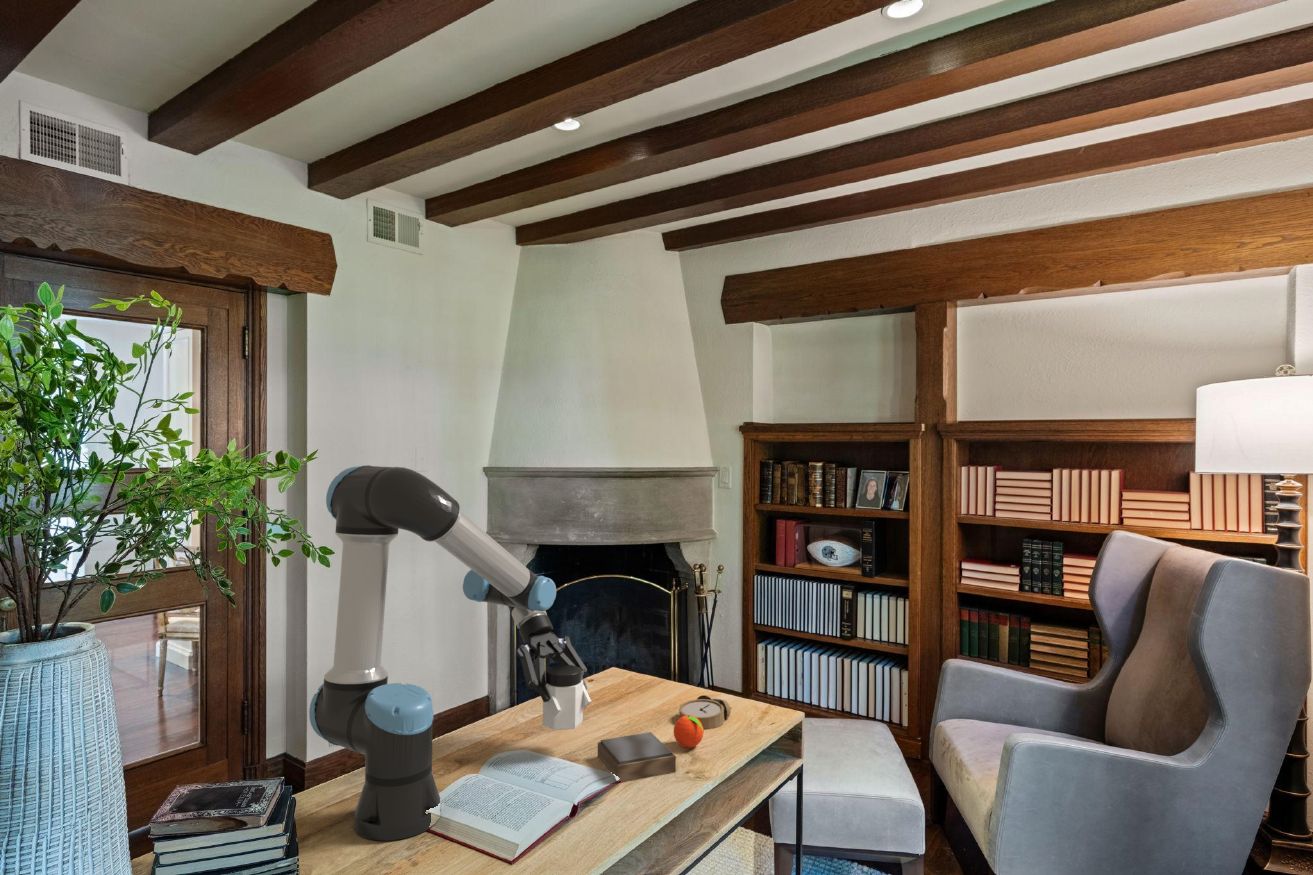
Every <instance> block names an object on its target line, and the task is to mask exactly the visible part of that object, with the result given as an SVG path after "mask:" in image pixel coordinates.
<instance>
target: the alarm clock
mask: <svg viewBox="0 0 1313 875" xmlns="http://www.w3.org/2000/svg"><path fill="white" fill-rule="evenodd" d="M678 708H679V709H678V710H679V716H678V717H676V718H675V719H676V720H677V721H678V719H679V718H681V717H683V716H686V715H691V716H694V717H696V718H697V719H698V720H699V721H700V722H701V724H702V726H703V730H713V729H717V728H718V727H720V726H722V725H723V724H724V722H725V720H727V719H729V717H730V716H731V712H732V711H731V710H732V707H731V706H730V704H729V702H728V701H727V700H725V699H722V698H721V699H720V698H712V697H711V696H709V695H707V694H702V695H699V696H698V697H697V698H696V699H692V700H688V701H685V702H684V703H682V704H681V705H679V707H678Z"/></svg>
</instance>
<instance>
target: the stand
mask: <svg viewBox="0 0 1313 875" xmlns="http://www.w3.org/2000/svg"><path fill="white" fill-rule="evenodd" d="M598 758H599V759H600V760H601V761H600V760H599V759H598ZM597 759H598V760H599V761H600V763H601V762H602V763H603V764H604V765H605V766H604V765H603V764H602V763H601V764H602V765H603V766H604V768H605V769H606V768H607V769H608V770H609V771H610V772H612V774H615V775H616V776H618V777H619V778H620V779H621V781H622V782H621V783H624V782H631V781H635V780H640V779H646V778H651V777H652V778H653V777H657V776H663V775H667V774H672V773H676V771H677V768H676V766H677V765H676V764H677V763H676V762H677V760H676V759H677V756H676V755H675V754H674V753H673V751H672V750H670V748H668V747H667V746H666V744H664V743H663V742H662V741H661V740H660V739H658V737H656V735H654V734H653V732H651V731H650V732H643V733H637V734H631V735H625V736H618V737H613V738H607V739H600V741H599V742H597ZM607 769H606V770H607ZM608 770H607V771H608ZM609 771H608V772H609ZM610 772H609V773H610Z"/></svg>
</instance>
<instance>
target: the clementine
mask: <svg viewBox="0 0 1313 875" xmlns="http://www.w3.org/2000/svg"><path fill="white" fill-rule="evenodd" d="M704 730H705V729H703V726H702V724H701V722H700V721H699V720H698V719H697V718H696V717H694V716H691V715H686V716H683V717H681V718H679V719H678V720H677V721H675V724H674V725H673V737H674V738H675V740H676V743H677V744H679V745H680V746H681V747H683V748H688V749H689V748H690V749H691V748H694V747H696V746H698V745H699V744H700V743H701V742H702V739H703V737H704Z"/></svg>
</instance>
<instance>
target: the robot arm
mask: <svg viewBox="0 0 1313 875" xmlns="http://www.w3.org/2000/svg"><path fill="white" fill-rule="evenodd" d="M325 501H326V502H325V504H326V508H327V511H328V513H329V514H331V517H332V518H334V520H335V521H336V522H335V532H334V533H335V536H337V537H338V539H340V541H341V542H342V552H341V562H340V563H341V565H340V575H339V576H340V577H339V578H340V579H339V589H338V590H339V591H338V601H337V602H338V604H337V605H338V606H337V616H336V618H337V619H336V629H335V642H334V643H335V644H334V655H333V666H332V667H331V668H330V670H328V671H327V672H326V673H325V674H324V676H323V683H322V684H321V685H320V686H318V688H317V690H318V691H317V692H316V693H314V694H313V696H312V698H311V701H310V704H309V710H308V718H309V721H310V726H311V727H312V729H313V731H314V732H315V734H317V736H318V737H320V738H322V739H324V740H325V741H326V742H328V743H329V744H331V745H334V746H337V747H339V746H340V747H341V748H342V747H343V748H344V749H347V750H350V751H353V752H355V753H357V754H361V755H363V756H364V759H365V761H364V762H365V763H364V766H365V767H364V771H365V773H364V784H363V787H362V790H361V793H360V795H359V798H358V801H357V805H356V806H355V807H356V808H355V810H354V817H353V827H354V831H355V832H356V834H358V835H359V836H360V837H363V838H365V839H368V840H372V841H397V840H401V839H402V840H404V839H407V838H410V837H414V836H417V835H419V834H423V833H424V832H426V831H428V830H430V828H429V826H430V823H431V813H428V814H426V813H425V812H426V810H429V809H430V808H434V807H436V806H438V804H439V803H440V799H441V797H440V793H439V790H438V788H437V783H436V781H435V779H434V775H433V740H434V738H433V735H434V734H433V732H434V716H435V714H434V709H433V699H432V696H431V694H430V693H429V692H428V691H427V690H426V689H425V688H422V687H421V686H419V685H415V684H411V683H405V684H402V683H401V682H397V683H396V682H394V683H388V681H389V680H388V679H389V678H388V677H389V673H388V672H389V671H387V670H386V669H385V667H383V666H382V664H381V663H382V653H383V652H382V649H383V648H382V647H383V639H384V638H383V635H384V621H385V608H386V606H385V605H386V595H387V583H388V582H387V581H388V580H387V579H388V566H389V554H390V544H391V543H392V541H393V540H395V539H396V538H397V537H398V535H399V530H400V529H401V530H405V531H408V532H411V533H413V534H415V535H417V536H419V537H420V538H421V539H422V540H424V541H425V542H435V543H436V544H438V545H439V546H441V547H442V548H443V549H444V550H446V552H448V553H449V554H451V555H452V556H454V557H455V558H456V559H458V561H459V562H462V564H464V565H465V566H466V567H467V568H469V569H470V570H469V571H467V573H466V574H465V576H464V578H463V581H462V592H463V594H464V596H465V597H466V598H467V599H468V600H471V601H475V602H478V603H482V602H483V603H490V604H494V605H501V606H506V607H507V608H508V609H509V611H510V614H511V616H512V619H513V620H514V623H515V625H516V628H517V629H519V630H518V632H519V635H520V637H521V638H522V641H523V643H524V644H521V645H520V646H519V648H518V649H517V650H516V655H517V656H518V658H519V660H520V663H521V666H522V669H523V674H524V677H525V682H526V685H527V689H528V690H533V689H534V691H535V693H539V696H540V698H541V701H542V702H543V701H544V702H546V703H547V705H548V707H549V709H550V712H551V714H552V716H553V717H554V716H556V715H557V714H558V713H559V711H560V710H561V709H560V706H559V704H558V702H557V700H556V698H555V697H554V694H553V692H552V690H551V688H550V685H549V684H546V685H545V671H546V668H545V666H546V665H545V660H546V659H551V660H552V661H553V662H556V663H557V664H558V665H573V666H577V667H579V668H581V670H582V678H581V680H583V709H586V708H587V707H588V706H589V705H590V704H591V703H592V699H591V698H590V695H589V694H588V691H587V689H588V686H587V684H586V681H585V678H584V677H583V676H584V675H585V674H586V673H587V671H588V669H587V667H586V665H585V664H584V663H583V661H582V659H581V657H580V656H579V655H578V653H577V652H576V650H575V648H574V647H573V645H572V643H571V640H570V637H569V636H566V635H565V637H564V638H559V637H558V636H557V635H556V634H555V629H554V627H553V624H552V622H551V620H550V617H549V616H548V614H547V612H546V611H547V610H549V609H550V608H551V607H552V606H553V604H554V602H555V600H556V597H557V587H556V583H555V582H554V581H553V579H551V578H549V577H546V576H544V575H537V574H535V573H534V572H532V570H531V569H529V568H527V567H526V566H525V565H524V564H523V563H522V562H521V561H519V559H517V558H516V557H515V556H514V555H512V554H511V553H510V552H508V550H506V549H505V548H504V547H503V546H502V545H501V544H499V543H498V542H497V541H496V540H495V539H493V538H492V537H491V536H490V535H488V534H487V532H486V531H484V530H483V529H482V528H481V527H479V526H478V525H477V524H476V523H475V522H474V521H473V520H471V519H470V518H469V517H468V516H466V514H464V513H463V512H462V511H461V506H460V503H459V502H458V501H457V500H456V499H455V498H454V497H453V496H451V495H450V494H449V493H448V492H447V491H445V489H443V488H441V486H439V485H438V484H436V483H435V482H434V481H432V480H431V479H429V478H428V477H427V476H425V475H423V474H422V473H420V472H417V471H416V470H413V469H410V468H407V467H404V466H403V467H402V466H400V467H399V466H377V465H376V466H375V465H370V464H369V465H368V464H367V465H358V466H352V467H348V468H345V469H344V470H342V471H340V472H339V473H338V474H337V475H336V476H335V477H334V478H333V479H332V481H330V484H329V486H328V488H327V491H326V496H325ZM531 654H532V655H533V660H532V656H531Z"/></svg>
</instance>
